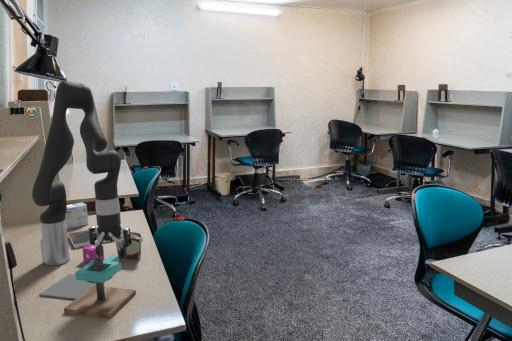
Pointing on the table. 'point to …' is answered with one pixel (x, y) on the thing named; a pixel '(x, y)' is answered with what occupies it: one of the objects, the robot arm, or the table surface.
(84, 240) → the picture frame
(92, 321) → the table surface
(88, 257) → the puzzle toy
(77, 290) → the mat
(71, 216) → the light bulb box
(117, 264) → the teal square racket
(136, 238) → the food container
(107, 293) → the stand
